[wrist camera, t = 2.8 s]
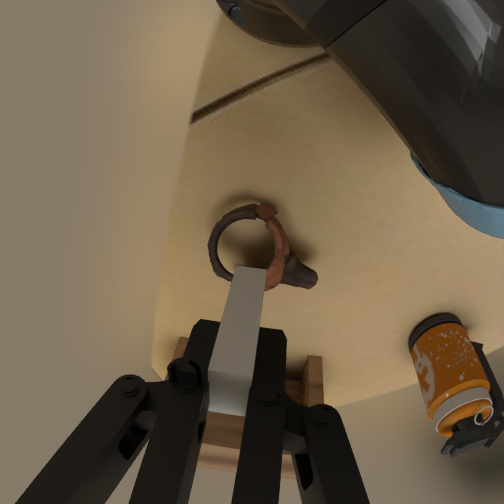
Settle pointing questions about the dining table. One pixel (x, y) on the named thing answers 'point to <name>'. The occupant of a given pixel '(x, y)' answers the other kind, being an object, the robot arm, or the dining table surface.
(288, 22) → the robot arm
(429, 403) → the canister
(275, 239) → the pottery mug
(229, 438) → the hutch
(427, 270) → the dining table surface
